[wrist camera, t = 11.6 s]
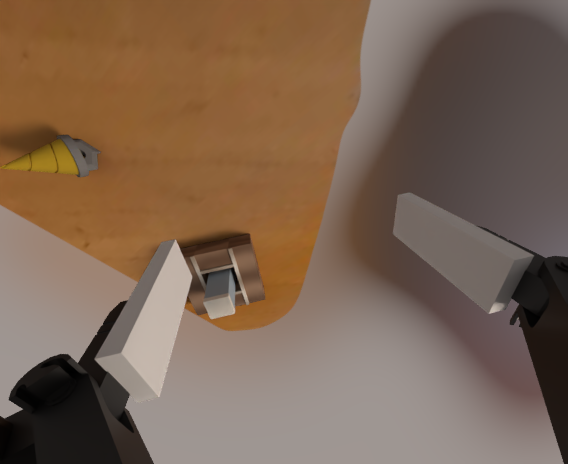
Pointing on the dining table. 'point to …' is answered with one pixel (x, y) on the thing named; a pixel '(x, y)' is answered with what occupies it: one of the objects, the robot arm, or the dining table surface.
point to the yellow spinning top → (59, 158)
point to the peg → (220, 293)
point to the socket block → (222, 257)
